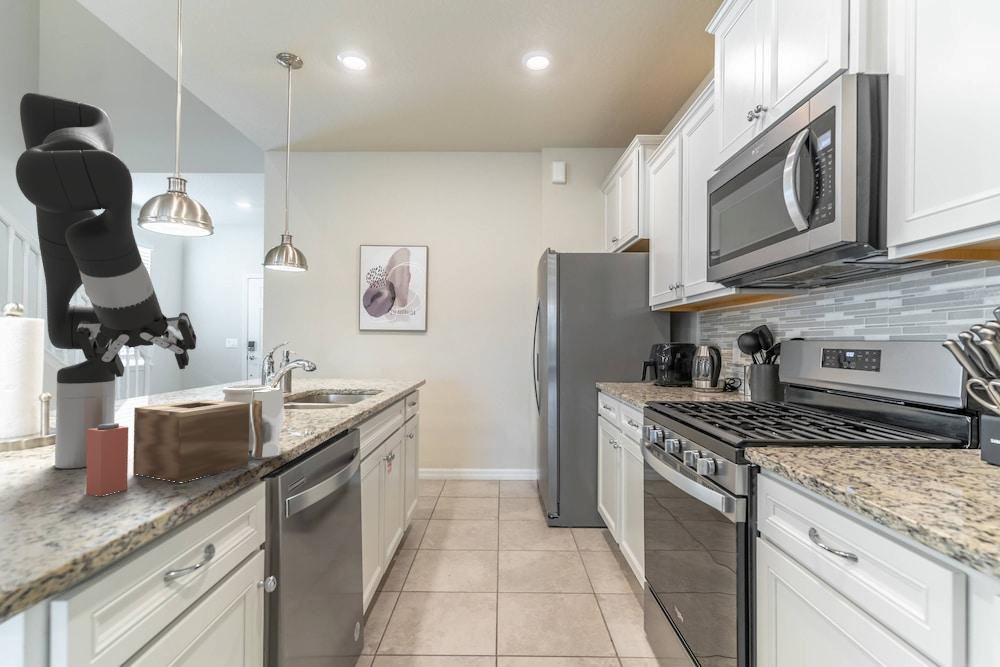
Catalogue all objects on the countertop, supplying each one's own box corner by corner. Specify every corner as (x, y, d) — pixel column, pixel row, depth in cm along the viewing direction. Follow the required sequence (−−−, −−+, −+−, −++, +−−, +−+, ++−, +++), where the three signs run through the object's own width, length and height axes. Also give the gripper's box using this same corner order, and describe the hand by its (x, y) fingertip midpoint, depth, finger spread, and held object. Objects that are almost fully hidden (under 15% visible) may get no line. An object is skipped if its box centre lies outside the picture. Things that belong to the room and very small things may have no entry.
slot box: (133, 474, 90) (134, 407, 90) (203, 457, 103) (204, 399, 103) (181, 483, 84) (182, 412, 85) (248, 464, 97) (249, 403, 97)
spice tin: (86, 494, 78) (87, 425, 79) (113, 487, 82) (114, 421, 82) (100, 497, 77) (101, 427, 77) (127, 490, 81) (128, 423, 81)
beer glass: (269, 460, 101) (270, 391, 101) (241, 458, 102) (242, 390, 102) (289, 453, 108) (290, 388, 108) (263, 451, 109) (264, 387, 109)
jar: (234, 444, 116) (234, 384, 116) (276, 443, 117) (277, 384, 118) (212, 454, 106) (213, 389, 106) (259, 453, 107) (260, 388, 107)
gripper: (181, 273, 72) (203, 349, 83) (64, 278, 67) (103, 360, 77) (177, 301, 67) (201, 379, 78) (50, 310, 62) (94, 392, 72)
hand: (152, 369), depth 77 cm, fingers open, 8 cm apart
